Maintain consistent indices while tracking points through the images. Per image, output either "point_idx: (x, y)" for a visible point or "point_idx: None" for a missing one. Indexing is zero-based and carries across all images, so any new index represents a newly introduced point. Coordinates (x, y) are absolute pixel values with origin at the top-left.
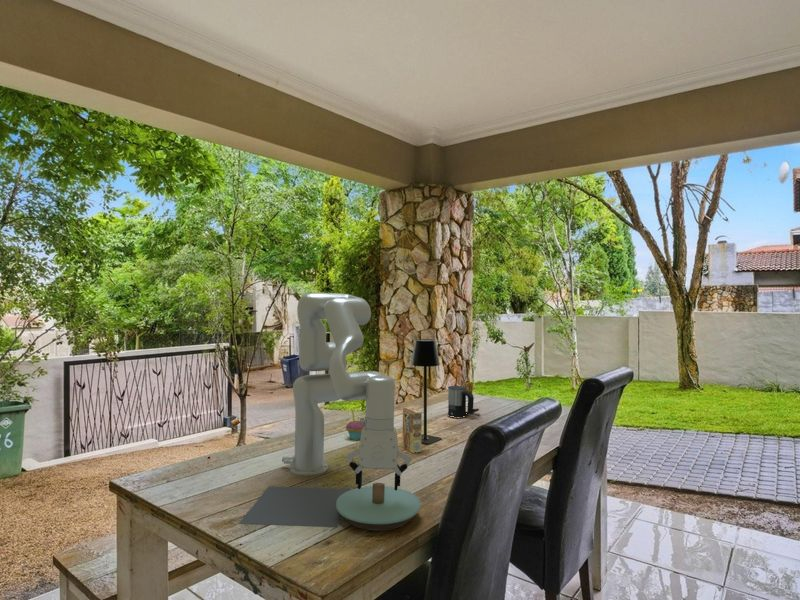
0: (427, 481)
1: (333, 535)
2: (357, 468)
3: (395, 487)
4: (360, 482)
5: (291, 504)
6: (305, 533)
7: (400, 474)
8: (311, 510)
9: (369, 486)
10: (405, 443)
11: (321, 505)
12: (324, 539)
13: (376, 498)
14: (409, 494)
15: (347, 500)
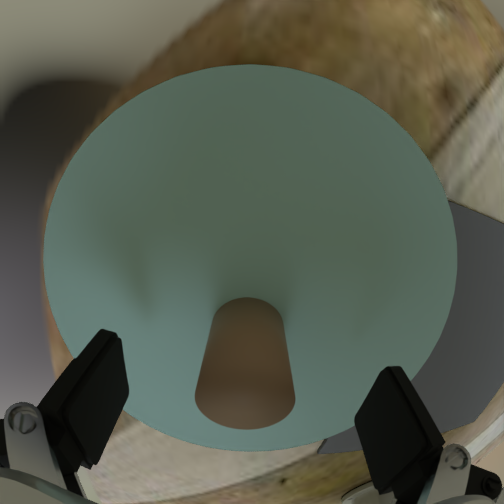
0: (111, 454)
1: (437, 140)
2: (462, 479)
3: (103, 342)
4: (400, 399)
5: (484, 357)
6: (497, 179)
7: (19, 405)
8: (464, 329)
9: (274, 449)
10: None
11: (432, 363)
12: (458, 119)
13: (262, 318)
14: None
15: (402, 340)
